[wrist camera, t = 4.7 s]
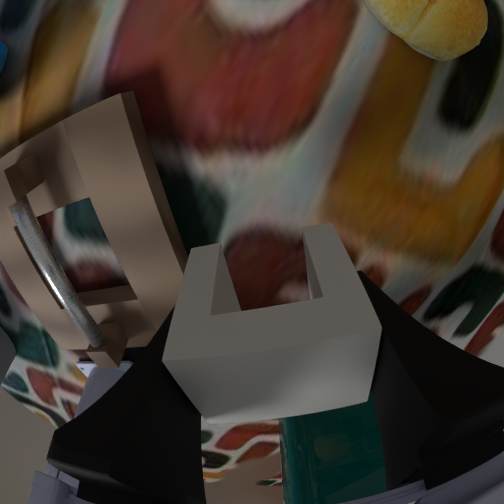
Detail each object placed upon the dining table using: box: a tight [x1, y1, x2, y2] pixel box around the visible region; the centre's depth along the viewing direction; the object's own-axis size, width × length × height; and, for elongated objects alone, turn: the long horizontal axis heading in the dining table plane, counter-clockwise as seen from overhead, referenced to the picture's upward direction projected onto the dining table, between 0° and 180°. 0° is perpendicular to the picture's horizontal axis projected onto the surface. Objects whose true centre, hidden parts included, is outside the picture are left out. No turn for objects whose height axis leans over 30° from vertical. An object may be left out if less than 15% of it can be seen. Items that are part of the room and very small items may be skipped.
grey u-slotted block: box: [162, 223, 382, 424], centre depth 10 cm, size 4×6×6 cm
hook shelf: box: [0, 91, 188, 368], centre depth 18 cm, size 18×16×5 cm
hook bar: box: [8, 195, 107, 349], centre depth 16 cm, size 14×1×1 cm, turn 12°
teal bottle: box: [278, 389, 387, 504], centre depth 18 cm, size 10×8×22 cm
